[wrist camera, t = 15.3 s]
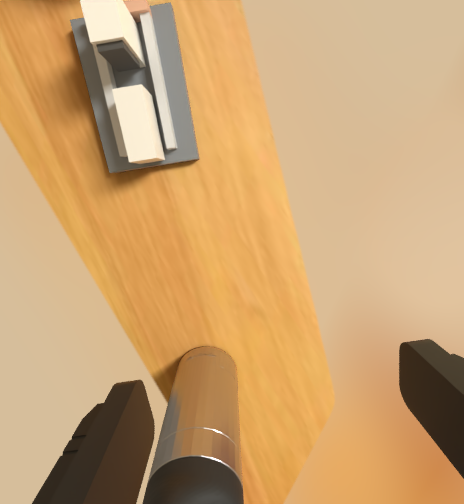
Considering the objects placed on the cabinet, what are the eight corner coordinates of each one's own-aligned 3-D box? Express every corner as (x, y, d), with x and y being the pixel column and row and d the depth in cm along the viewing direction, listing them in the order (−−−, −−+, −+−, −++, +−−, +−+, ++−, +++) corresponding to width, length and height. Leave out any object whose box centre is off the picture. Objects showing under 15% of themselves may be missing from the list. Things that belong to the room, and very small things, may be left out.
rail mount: (199, 159, 36) (191, 154, 27) (114, 173, 36) (80, 172, 28) (173, 10, 31) (154, -49, 23) (77, 27, 32) (24, -26, 23)
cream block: (157, 157, 30) (141, 84, 28) (129, 162, 30) (111, 89, 28) (166, 160, 34) (153, 96, 32) (141, 164, 34) (127, 101, 32)
